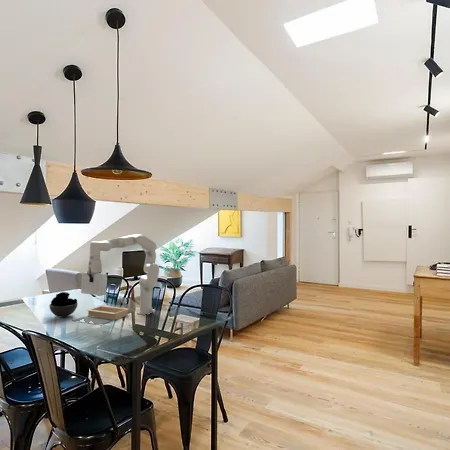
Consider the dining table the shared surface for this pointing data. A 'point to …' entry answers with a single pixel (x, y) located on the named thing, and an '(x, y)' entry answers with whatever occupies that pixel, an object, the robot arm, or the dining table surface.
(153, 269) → the robot arm
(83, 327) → the dining table surface
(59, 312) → the coal bowl
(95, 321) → the mat
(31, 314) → the dining table surface
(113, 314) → the wooden frame
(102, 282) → the skincare box
